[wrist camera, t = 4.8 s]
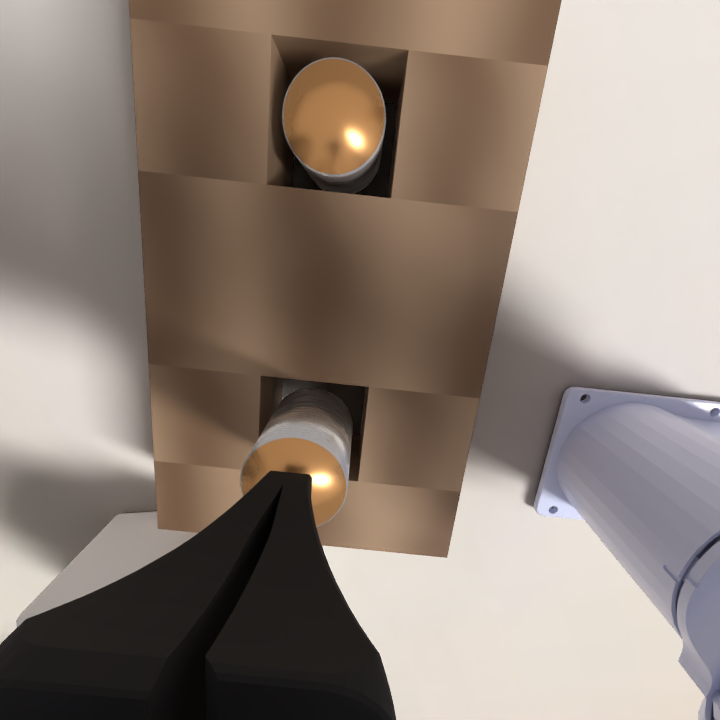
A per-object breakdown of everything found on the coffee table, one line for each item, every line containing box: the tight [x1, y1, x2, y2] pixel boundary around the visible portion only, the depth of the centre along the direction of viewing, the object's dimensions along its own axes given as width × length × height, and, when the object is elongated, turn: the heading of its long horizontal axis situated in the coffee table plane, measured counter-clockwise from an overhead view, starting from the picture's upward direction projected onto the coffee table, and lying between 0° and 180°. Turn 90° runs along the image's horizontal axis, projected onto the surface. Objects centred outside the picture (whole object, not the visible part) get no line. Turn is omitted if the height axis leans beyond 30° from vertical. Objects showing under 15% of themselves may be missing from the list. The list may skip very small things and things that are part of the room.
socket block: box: [129, 0, 561, 558], centre depth 17 cm, size 14×24×4 cm, turn 174°
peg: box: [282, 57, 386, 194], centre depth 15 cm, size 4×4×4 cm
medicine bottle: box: [16, 511, 198, 627], centre depth 18 cm, size 7×7×12 cm
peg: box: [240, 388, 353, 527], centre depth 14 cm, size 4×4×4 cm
